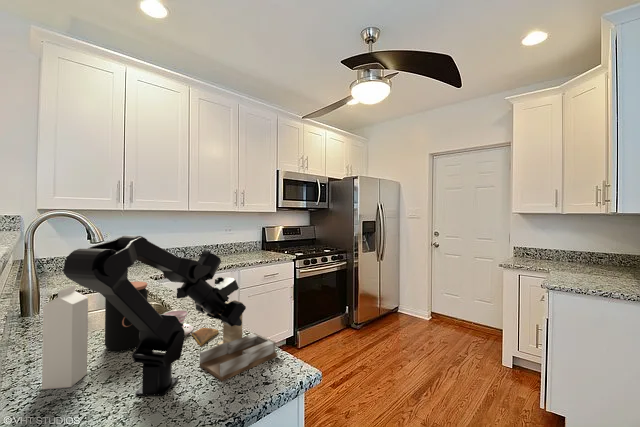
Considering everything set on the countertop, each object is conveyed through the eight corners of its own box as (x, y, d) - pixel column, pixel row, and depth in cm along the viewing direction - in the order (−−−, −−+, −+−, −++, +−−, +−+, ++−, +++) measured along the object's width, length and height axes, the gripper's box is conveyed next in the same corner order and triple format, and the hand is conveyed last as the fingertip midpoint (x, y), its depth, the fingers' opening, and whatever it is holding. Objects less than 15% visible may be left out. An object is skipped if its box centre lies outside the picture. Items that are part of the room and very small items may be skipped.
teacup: (199, 332, 101) (199, 313, 101) (160, 342, 93) (160, 322, 93) (186, 322, 110) (186, 306, 110) (149, 331, 101) (149, 313, 101)
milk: (87, 374, 74) (89, 284, 74) (71, 387, 68) (73, 290, 68) (59, 375, 73) (62, 285, 73) (40, 390, 67) (43, 291, 67)
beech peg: (229, 352, 85) (229, 307, 86) (217, 346, 90) (217, 302, 90) (247, 345, 90) (248, 302, 90) (235, 339, 94) (236, 298, 95)
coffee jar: (122, 355, 84) (123, 290, 84) (95, 349, 87) (96, 287, 87) (154, 340, 94) (155, 282, 94) (129, 335, 97) (130, 280, 97)
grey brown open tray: (221, 381, 71) (222, 365, 71) (199, 366, 78) (199, 351, 78) (276, 356, 83) (277, 342, 83) (253, 345, 91) (253, 332, 91)
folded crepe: (200, 348, 89) (200, 342, 90) (178, 345, 91) (178, 339, 91) (219, 334, 100) (219, 328, 100) (199, 332, 102) (199, 326, 102)
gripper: (240, 274, 81) (271, 306, 89) (205, 266, 93) (235, 294, 102) (212, 310, 75) (249, 340, 83) (179, 296, 87) (214, 324, 96)
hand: (236, 322), depth 91 cm, fingers closed on beech peg, 4 cm apart
